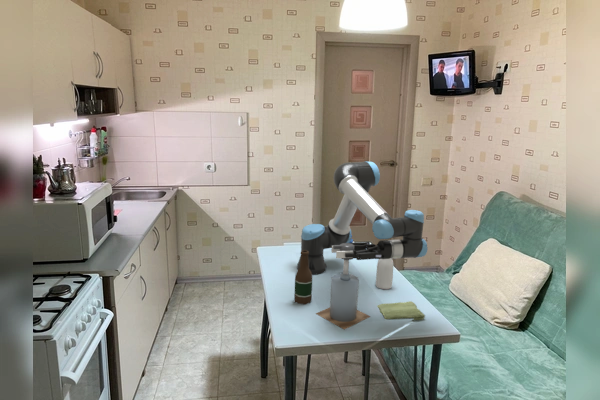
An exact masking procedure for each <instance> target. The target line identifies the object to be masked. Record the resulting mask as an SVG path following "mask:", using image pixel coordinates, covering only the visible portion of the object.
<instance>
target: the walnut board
mask: <svg viewBox="0 0 600 400" xmlns="http://www.w3.org/2000/svg"><path fill="white" fill-rule="evenodd" d="M315 315H317V316H319V317H321V318H322V319H325V320H326V321H328V322H330V323H331V324H333V325H335V326H337V327H339V328H341V329H343V330H346V329H349V328H351V327H353V326H355V325H357V324H358V323H361V322H363V321H365V320H366V319H369V318H371V316H370V315H368V314H367V313H365V312H363V311H361V310H359V309H357V316H356V319H355V320H353V321H349V322H341V321H337V320H334V319H333V318H331V317H330V306H329V307H327V308H325V309H323V310H320V311H318V312H316V313H315Z"/></svg>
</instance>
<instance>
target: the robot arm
mask: <svg viewBox="0 0 600 400" xmlns="http://www.w3.org/2000/svg"><path fill="white" fill-rule="evenodd" d="M332 178H333V184H334V186H335V187H336V190H338V191H339V193H340V194H341V195H342V194H343V197H342V199H341V201H340V204H339V206H338V208H337V212H336V213H335V215H334V218H331V219H330V220H329V222H328V224H327V225H325V226H324V225H323V224H320V223H310V224H308V225H305V226H303V228H302V229H301V235H300V237H301V238H300V239H301V242H300V243H301V244H300V252H301V251H302V250H307V251H309V254H308V263H309V269H310V271H311V273H312V275H321V274H323V273H326V270H327V264H326V261H325V260H326V259H325V257H324V250H327V249H331V254H332V253H335V259H341V258H353V259H356V260H357V261H363V260H379V259H390V258H391V259H392V260H393V259H394V260H397V259H410V258H411V259H416V258H423V257H425V256H427V253H428V243H427V241H426V239H424V238H423V229H424V224H425V214H424V213H423V212H422V211H420V210H417V209H416V210H415V209H407V210H406V211H405V212H404V216H399V217H392V216H391V214H389V213H388V212H387V211H386V210H385V209H384V208H383V207H382V206H381V205H380V204H379V203H378V202H377V201H376V199H374V198H373V196H371V194H369V191H370V190H371V188H372V187H375V186H378V184H379V183H380V179H381V174H380V169H379V167H378V165H377V164H376V163H375V162H373V161H354V162H353V161H352V162H351V161H350V162H344V163H343V162H342V163H341V164H340V165H338V166H337V167H336V169H335V170H334V172H333V177H332ZM357 210H359V211H360V213H362V215H363V216H365V218H366V219H367V220H368V221H369V223H370V224H371V225H372V232H373V235H374V237H375V238H376V239H378V242H377V244H375V243H371V242H370V241H366V242H365V241H364V242H352V243H350V244H353V245H354V253H353V251H340V249H333V245H340V244H342V243H349V242H350V240H351V239H352V238H351V235H352V229H351V226H350V225H351V222H352V221H353V218H354V215H355V214H356V212H357ZM399 237H402V239H394V238H399ZM388 239H389V240H388ZM370 243H371V244H370ZM300 260H301V255H300V257H299V259H298V261H297V266H296V268H297V270H298V269H299V268H300Z"/></svg>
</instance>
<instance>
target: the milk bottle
mask: <svg viewBox="0 0 600 400" xmlns="http://www.w3.org/2000/svg"><path fill="white" fill-rule="evenodd" d="M393 278H394V260H393V259H391V258H390V259H377V265H376V276H375V286H376V287H377V289H381V290H390V289H392V287H393Z"/></svg>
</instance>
